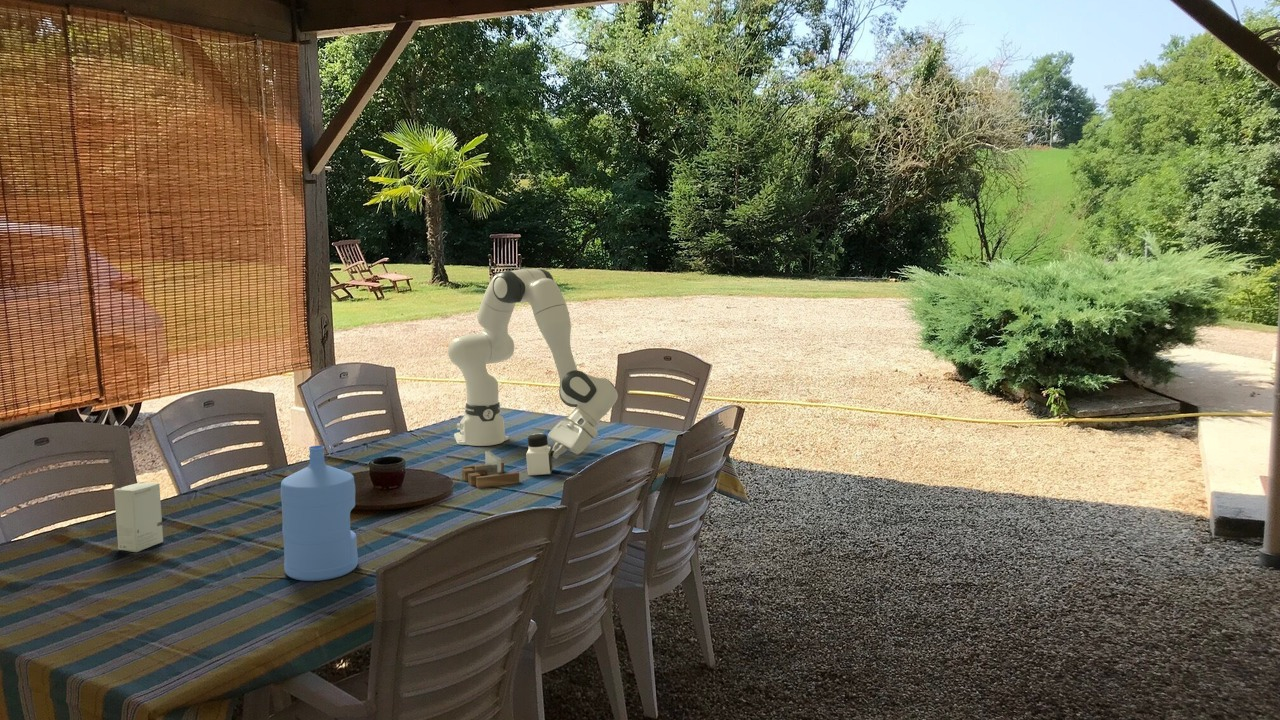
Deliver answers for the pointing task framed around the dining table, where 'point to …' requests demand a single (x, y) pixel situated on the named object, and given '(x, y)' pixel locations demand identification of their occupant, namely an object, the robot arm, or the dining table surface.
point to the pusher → (490, 464)
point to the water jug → (318, 521)
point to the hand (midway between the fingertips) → (552, 456)
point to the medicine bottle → (538, 455)
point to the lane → (487, 477)
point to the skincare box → (138, 516)
